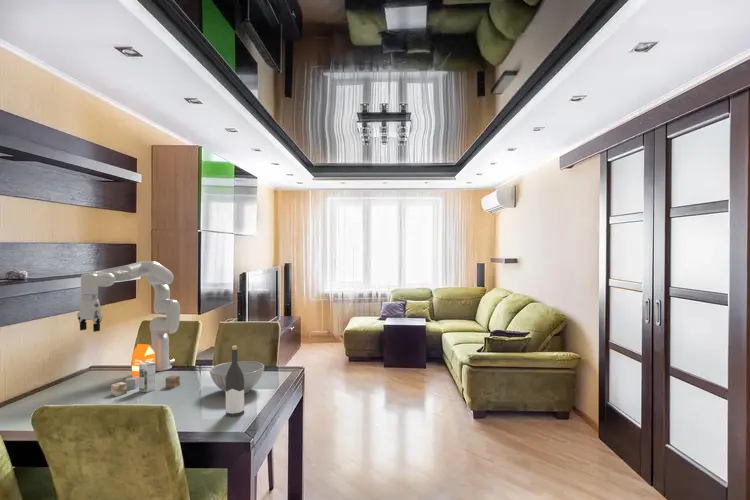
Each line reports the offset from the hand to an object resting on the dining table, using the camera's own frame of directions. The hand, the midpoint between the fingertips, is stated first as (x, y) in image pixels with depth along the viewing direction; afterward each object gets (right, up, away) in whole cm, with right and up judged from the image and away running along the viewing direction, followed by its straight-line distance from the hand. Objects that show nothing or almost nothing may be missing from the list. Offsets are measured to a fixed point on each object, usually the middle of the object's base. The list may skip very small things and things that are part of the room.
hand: (89, 330), depth 230 cm
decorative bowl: (+77, -31, -1) cm, 83 cm away
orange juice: (+18, -31, +19) cm, 41 cm away
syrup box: (+29, -31, +1) cm, 43 cm away
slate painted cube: (+18, -31, +6) cm, 37 cm away
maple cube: (+18, -31, -4) cm, 36 cm away
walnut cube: (+39, -31, +8) cm, 51 cm away
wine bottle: (+85, -31, -32) cm, 96 cm away
